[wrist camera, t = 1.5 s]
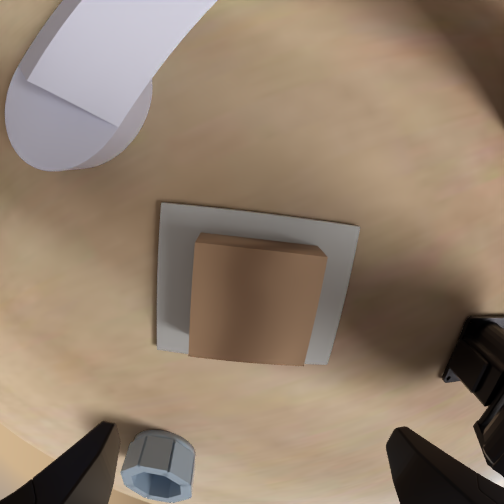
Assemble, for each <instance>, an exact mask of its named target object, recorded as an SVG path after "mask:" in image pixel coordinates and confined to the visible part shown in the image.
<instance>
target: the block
mask: <svg viewBox="0 0 504 504" xmlns="http://www.w3.org/2000/svg"><path fill="white" fill-rule="evenodd" d="M327 259H328V257H327V256H326V255H325V253H324V252H323V251H322V250H321V249H320V248H319V247H318V246H315V245H306V244H298V243H290V242H281V241H273V240H264V239H255V238H246V237H238V236H229V235H220V234H211V233H200V234H199V236H198V238H197V240H196V241H195V248H194V261H193V275H192V291H191V308H190V329H189V354H188V356H191V357H199V358H207V359H216V360H226V361H236V362H247V363H260V364H274V365H292V366H304V363H305V359H306V355H307V351H308V346H309V342H310V338H311V334H312V330H313V325H314V321H315V317H316V312H317V308H318V303H319V298H320V294H321V289H322V284H323V279H324V274H325V269H326V264H327Z"/></svg>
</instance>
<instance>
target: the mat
mask: <svg viewBox="0 0 504 504" xmlns="http://www.w3.org/2000/svg"><path fill="white" fill-rule="evenodd" d="M359 231H360V227H359V226H356V225H350V224H343V223H336V222H329V221H322V220H314V219H307V218H300V217H292V216H284V215H276V214H268V213H260V212H252V211H243V210H234V209H225V208H216V207H207V206H197V205H187V204H177V203H166V202H162V203H161V213H160V228H159V247H158V273H157V350H164V351H170V352H177V353H185V354H189V329H190V308H191V291H192V275H193V261H194V248H195V241H196V240H197V238H198V236H199V234H200V233H211V234H220V235H229V236H238V237H246V238H255V239H264V240H273V241H281V242H290V243H298V244H306V245H315V246H318V247H319V248H320V249H321V250H322V251H323V252H324V253H325V255H326V256H327V257H328V259H327V264H326V269H325V274H324V279H323V284H322V289H321V294H320V298H319V303H318V308H317V312H316V317H315V321H314V325H313V330H312V334H311V338H310V342H309V346H308V351H307V355H306V359H305V363H304V364H320V365H327V364H328V361H329V357H330V354H331V350H332V347H333V343H334V340H335V336H336V332H337V328H338V325H339V321H340V317H341V313H342V309H343V305H344V301H345V296H346V292H347V288H348V284H349V279H350V275H351V270H352V266H353V261H354V256H355V251H356V246H357V241H358V236H359Z"/></svg>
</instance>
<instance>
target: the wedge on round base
mask: <svg viewBox="0 0 504 504" xmlns="http://www.w3.org/2000/svg"><path fill="white" fill-rule="evenodd" d="M216 1H217V0H63V1H62V2H61V3H60V4H59V6H58V7H57V8H56V10H55V11H54V12H53V14H52V15H51V16H50V18H49V19H48V20H47V22H46V23H45V25H44V26H43V27H42V29H41V30H40V32H39V33H38V35H37V36H36V38H35V39H34V41H33V42H32V44H31V45H30V47H29V49H28V50H27V52H26V53H25V55H24V57H23V58H22V60H21V62H20V64H19V65H18V67H17V69H16V71H15V73H14V75H13V78H12V80H11V83H10V86H9V89H8V93H7V98H6V104H5V123H6V130H7V134H8V137H9V140H10V142H11V144H12V147H13V148H14V150H15V151H16V153H17V154H18V155H19V156H20V158H21V159H22V160H24V161H25V162H26V163H27V164H29V165H31V166H32V167H34V168H37V169H40V170H44V171H64V170H75V169H86V168H91V167H96V166H98V165H101V164H104V163H106V162H108V161H110V160H111V159H113V158H114V157H116V156H117V155H119V154H120V153H121V152H122V151H123V150H124V149H126V147H127V146H128V145H129V144H130V143H131V142H132V141H133V140H134V138H135V137H136V135H137V134H138V133H139V131H140V129H141V127H142V126H143V124H144V121H145V119H146V117H147V115H148V111H149V108H150V104H151V98H152V77H153V76H154V75H155V73H156V72H157V71H158V69H159V68H160V67H161V65H162V64H163V63H164V62H165V60H166V59H167V58H168V56H169V55H170V54H171V53H172V51H173V50H174V49H175V48H176V47H177V45H178V44H179V43H180V42H181V40H182V39H183V38H184V37H185V36H186V35H187V33H188V32H189V31H190V30H191V29H192V28H193V26H194V25H195V24H196V23H197V22H198V21H199V20H200V19H201V17H202V16H203V15H204V14H205V13H206V12H207V11H208V10H209V9H210V8H211V7H212V6H213V5H214V4H215V2H216Z"/></svg>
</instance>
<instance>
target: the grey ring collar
mask: <svg viewBox="0 0 504 504" xmlns="http://www.w3.org/2000/svg"><path fill="white" fill-rule="evenodd" d="M194 472H195V450H194V448H193V446H192V445H191V444H190V443H189V442H188V441H187V440H185V439H184V438H182V437H181V436H179V435H176V434H174V433H171V432H168V431H163V430H146V431H143V432H140V433H139V434H137V435H136V437H135V439H134V441H133V442H131V443H130V445H129V448H128V451H127V454H126V457H125V460H124V463H123V466H122V470H121V475H122V479H123V482H124V485H126V487H128V488H129V489H131V490H133V491H134V492H136V493H138V494H139V495H141V496H143V497H145V498H146V497H147V499H152V500H157V501H163V502H169V503H171V502H173V503H175V502H179V501H182V500H186V499H189V498H191V497H192V489H193V480H194Z"/></svg>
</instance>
